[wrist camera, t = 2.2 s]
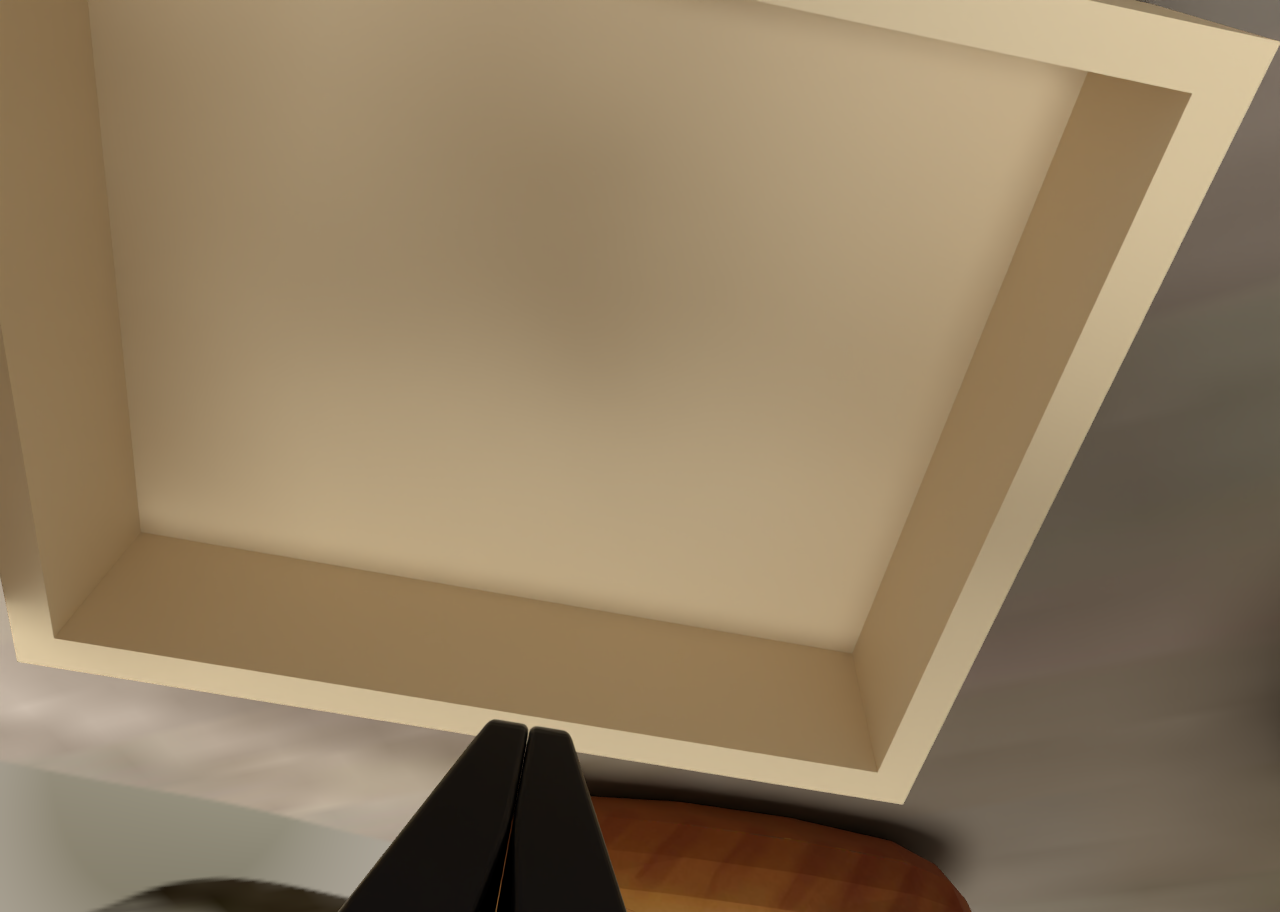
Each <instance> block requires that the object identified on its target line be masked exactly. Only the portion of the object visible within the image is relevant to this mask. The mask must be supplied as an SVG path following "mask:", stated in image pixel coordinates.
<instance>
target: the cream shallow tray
mask: <svg viewBox="0 0 1280 912" xmlns="http://www.w3.org/2000/svg"><path fill="white" fill-rule="evenodd" d="M1279 45H1280V41H1276V40H1273V39H1269V38H1266V37H1263V36H1259V35H1256V34H1252V33H1249V32H1245V31H1242V30H1239V29H1235V28H1232V27H1228V26H1225V25H1222V24H1218V23H1215V22H1211V21H1208V20H1204V19H1201V18H1198V17H1194V16H1191V15H1187V14H1184V13H1181V12H1177V11H1174V10H1170V9H1167V8H1163V7H1160V6H1157V5H1153V4H1150V3H1145V2H1140V1H1136V0H0V577H1V582H2V587H3V592H4V597H5V602H6V607H7V612H8V617H9V622H10V627H11V632H12V637H13V642H14V647H15V652H16V657H17V662H22V663H28V664H35V665H41V666H47V667H53V668H59V669H66V670H72V671H78V672H84V673H90V674H97V675H103V676H109V677H115V678H121V679H128V680H134V681H140V682H146V683H152V684H159V685H165V686H171V687H177V688H183V689H190V690H196V691H202V692H208V693H214V694H221V695H227V696H233V697H239V698H245V699H252V700H258V701H264V702H270V703H276V704H283V705H289V706H295V707H301V708H307V709H314V710H320V711H326V712H332V713H338V714H345V715H351V716H357V717H363V718H369V719H375V720H382V721H388V722H394V723H400V724H406V725H413V726H419V727H425V728H431V729H437V730H444V731H450V732H456V733H462V734H468V735H475V736H477V735H478V733H479V732H480V731H481V729H482V728H483V727H484V726H485V725H486V724H487V723H488V722H489V721H490V720H493V719H498V720H504V721H510V722H516V723H522V724H525V725H526V726H527V727H528V735H529V731H530V729H531V728H532V727H534V726H540V727H547V728H553V729H559V730H564V731H567V732H568V733H569V734H570V736H571V738H572V740H573V744H574V747H575V750H576V752H580V753H586V754H592V755H599V756H605V757H611V758H617V759H623V760H630V761H636V762H642V763H648V764H654V765H661V766H667V767H673V768H679V769H685V770H692V771H698V772H704V773H710V774H716V775H723V776H729V777H735V778H741V779H747V780H754V781H760V782H766V783H772V784H778V785H785V786H791V787H797V788H803V789H809V790H816V791H822V792H828V793H834V794H840V795H847V796H853V797H859V798H865V799H871V800H878V801H884V802H890V803H896V804H902V805H903V803H904V801H905V799H906V797H907V795H908V793H909V791H910V789H911V787H912V785H913V783H914V781H915V779H916V777H917V775H918V773H919V771H920V769H921V767H922V765H923V763H924V761H925V759H926V757H927V755H928V753H929V751H930V749H931V747H932V745H933V743H934V741H935V739H936V737H937V735H938V733H939V731H940V729H941V727H942V725H943V723H944V721H945V719H946V717H947V715H948V713H949V711H950V709H951V707H952V705H953V703H954V701H955V699H956V697H957V695H958V692H959V690H960V688H961V686H962V684H963V682H964V680H965V678H966V676H967V674H968V672H969V670H970V668H971V666H972V664H973V662H974V660H975V658H976V656H977V654H978V652H979V650H980V648H981V646H982V644H983V642H984V640H985V638H986V636H987V634H988V632H989V630H990V628H991V626H992V624H993V622H994V620H995V618H996V616H997V614H998V612H999V610H1000V608H1001V606H1002V604H1003V602H1004V600H1005V598H1006V596H1007V594H1008V592H1009V590H1010V588H1011V586H1012V584H1013V582H1014V580H1015V577H1016V575H1017V573H1018V571H1019V569H1020V567H1021V565H1022V563H1023V561H1024V559H1025V557H1026V555H1027V553H1028V551H1029V549H1030V547H1031V545H1032V543H1033V541H1034V539H1035V537H1036V535H1037V533H1038V531H1039V529H1040V527H1041V525H1042V523H1043V521H1044V519H1045V517H1046V515H1047V513H1048V511H1049V509H1050V507H1051V505H1052V503H1053V501H1054V499H1055V497H1056V495H1057V493H1058V491H1059V489H1060V487H1061V485H1062V483H1063V481H1064V479H1065V477H1066V475H1067V473H1068V471H1069V469H1070V467H1071V465H1072V463H1073V460H1074V458H1075V456H1076V454H1077V452H1078V450H1079V448H1080V446H1081V444H1082V442H1083V440H1084V438H1085V436H1086V434H1087V432H1088V430H1089V428H1090V426H1091V424H1092V422H1093V420H1094V418H1095V416H1096V414H1097V412H1098V410H1099V408H1100V406H1101V404H1102V402H1103V400H1104V398H1105V396H1106V394H1107V392H1108V390H1109V388H1110V386H1111V384H1112V382H1113V380H1114V378H1115V376H1116V374H1117V372H1118V370H1119V368H1120V366H1121V364H1122V362H1123V360H1124V358H1125V356H1126V354H1127V352H1128V350H1129V348H1130V345H1131V343H1132V341H1133V339H1134V337H1135V335H1136V333H1137V331H1138V329H1139V327H1140V325H1141V323H1142V321H1143V319H1144V317H1145V315H1146V313H1147V311H1148V309H1149V307H1150V305H1151V303H1152V301H1153V299H1154V297H1155V295H1156V293H1157V291H1158V289H1159V287H1160V285H1161V283H1162V281H1163V279H1164V277H1165V275H1166V273H1167V271H1168V269H1169V267H1170V265H1171V263H1172V261H1173V259H1174V257H1175V255H1176V253H1177V251H1178V249H1179V247H1180V245H1181V243H1182V241H1183V239H1184V237H1185V235H1186V233H1187V230H1188V228H1189V226H1190V224H1191V222H1192V220H1193V218H1194V216H1195V214H1196V212H1197V210H1198V208H1199V206H1200V204H1201V202H1202V200H1203V198H1204V196H1205V194H1206V192H1207V190H1208V188H1209V186H1210V184H1211V182H1212V180H1213V178H1214V176H1215V174H1216V172H1217V170H1218V168H1219V166H1220V164H1221V162H1222V160H1223V158H1224V156H1225V154H1226V152H1227V150H1228V148H1229V146H1230V144H1231V142H1232V140H1233V138H1234V136H1235V134H1236V132H1237V130H1238V128H1239V126H1240V124H1241V122H1242V120H1243V118H1244V116H1245V113H1246V111H1247V109H1248V107H1249V105H1250V103H1251V101H1252V99H1253V97H1254V95H1255V93H1256V91H1257V89H1258V87H1259V85H1260V83H1261V81H1262V79H1263V77H1264V75H1265V73H1266V71H1267V69H1268V67H1269V65H1270V63H1271V61H1272V59H1273V57H1274V55H1275V53H1276V51H1277V49H1278V47H1279ZM527 740H528V738H527ZM526 744H527V743H526Z"/></svg>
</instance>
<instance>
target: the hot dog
mask: <svg viewBox="0 0 1280 912" xmlns="http://www.w3.org/2000/svg"><path fill="white" fill-rule="evenodd" d="M590 797H591V800H592V803H593V807H594V810H595V813H596V816H597V819H598V822H599V825H600V829H601V832H602V835H603V838H604V841H605V844H606V848H607V851H608V854H609V857H610V860H611V863H612V866H613V870H614V873H615V876H616V879H617V882H618V885H619V889H620V892H621V895H622V898H623V901H624V904H625V907H626V911H627V912H971V910H970V908H969V905H968V903H967V901H966V900H965V898H964V897H963V896H962V895H961V894H960V893H959V891H958V890H957V889H956V888H955V887H954V885H953V884H952V883H951V882H950V881H949V880H948V878H947V877H946V876H945V875H944V874H943V873H942V872H941V870H940V869H939V868H938V867H937V866H936V865H935V864H933V863H931V862H930V861H928V860H926V859H924V858H922V857H920V856H918V855H917V854H915V853H913V852H911V851H909V850H907V849H905V848H904V847H902V846H900V845H898V844H896V843H894V842H892V841H889V840H884V839H880V838H876V837H871V836H867V835H863V834H858V833H854V832H849V831H845V830H841V829H836V828H832V827H828V826H823V825H819V824H815V823H810V822H806V821H801V820H797V819H793V818H788V817H782V816H775V815H768V814H761V813H754V812H747V811H740V810H733V809H726V808H719V807H712V806H705V805H698V804H691V803H684V802H675V801H658V800H642V799H625V798H609V797H592V796H590ZM512 821H513V820H512ZM511 827H512V826H511ZM510 833H511V831H510ZM509 838H510V836H509ZM508 844H509V842H508ZM507 849H508V847H507ZM506 855H507V853H506ZM505 860H506V858H505ZM504 866H505V864H504ZM503 871H504V869H503ZM502 877H503V875H502ZM501 882H502V880H501ZM500 888H501V885H500ZM499 893H500V891H499ZM498 899H499V896H498ZM497 904H498V902H497ZM496 910H497V907H496Z"/></svg>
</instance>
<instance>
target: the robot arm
mask: <svg viewBox="0 0 1280 912" xmlns="http://www.w3.org/2000/svg"><path fill="white" fill-rule="evenodd" d="M527 738H528V740H527ZM526 743H527V746H526ZM525 749H526V751H525ZM524 754H525V756H524ZM523 760H524V762H523ZM522 765H523V767H522ZM521 771H522V773H521ZM520 776H521V778H520ZM519 782H520V783H519ZM518 787H519V789H518ZM517 793H518V794H517ZM516 798H517V800H516ZM515 804H516V805H515ZM514 809H515V810H514ZM513 815H514V816H513ZM512 820H513V821H512ZM511 826H512V827H511ZM510 831H511V833H510ZM509 836H510V838H509ZM508 842H509V844H508ZM507 847H508V849H507ZM506 853H507V855H506ZM505 858H506V860H505ZM504 864H505V866H504ZM503 869H504V871H503ZM502 875H503V877H502ZM501 880H502V882H501ZM500 885H501V888H500ZM499 891H500V893H499ZM498 896H499V899H498ZM497 902H498V904H497ZM496 907H497V910H496ZM338 912H627V911H626V907H625V904H624V901H623V898H622V895H621V892H620V889H619V885H618V882H617V879H616V876H615V873H614V870H613V866H612V863H611V860H610V857H609V854H608V851H607V848H606V844H605V841H604V838H603V835H602V832H601V829H600V825H599V822H598V819H597V816H596V813H595V810H594V807H593V803H592V800H591V797H590V794H589V791H588V788H587V784H586V781H585V778H584V775H583V772H582V769H581V766H580V762H579V759H578V756H577V753H576V750H575V747H574V744H573V740H572V738H571V736H570V734H569V733H568V732H567V731H564V730H559V729H553V728H547V727H540V726H534V727H532V728H531V729H530V731H529V735H528V727H527V726H526V725H525V724H522V723H516V722H510V721H504V720H498V719H493V720H490V721H489V722H488V723H487V724H486V725H485V726H484V727H483V728H482V729H481V731H480V732H479V733H478V735H477V736H476V737H475V738H474V740H473V741H472V742H471V743H470V745H469V746H468V747H467V749H466V750H465V751H464V752H463V754H462V755H461V756H460V757H459V759H458V760H457V761H456V763H455V764H454V765H453V766H452V768H451V769H450V770H449V771H448V773H447V774H446V775H445V776H444V778H443V779H442V780H441V782H440V783H439V784H438V785H437V787H436V788H435V789H434V790H433V792H432V793H431V794H430V796H429V797H428V798H427V799H426V801H425V802H424V803H423V804H422V806H421V807H420V808H419V809H418V811H417V812H416V813H415V815H414V816H413V817H412V818H411V820H410V821H409V822H408V823H407V825H406V826H405V827H404V829H403V830H402V831H401V832H400V834H399V835H398V836H397V837H396V839H395V840H394V841H393V842H392V844H391V845H390V846H389V848H388V849H387V850H386V852H385V853H384V854H383V855H382V857H381V858H380V859H379V860H378V862H377V863H376V864H375V865H374V867H373V868H372V869H371V870H370V872H369V873H368V874H367V876H366V877H365V878H364V879H363V881H362V882H361V883H360V884H359V886H358V887H357V888H356V890H355V891H354V892H353V893H352V895H351V896H350V897H349V898H348V900H347V901H346V902H345V903H344V905H343V906H342V907H341V909H340V910H339V911H338Z"/></svg>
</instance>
